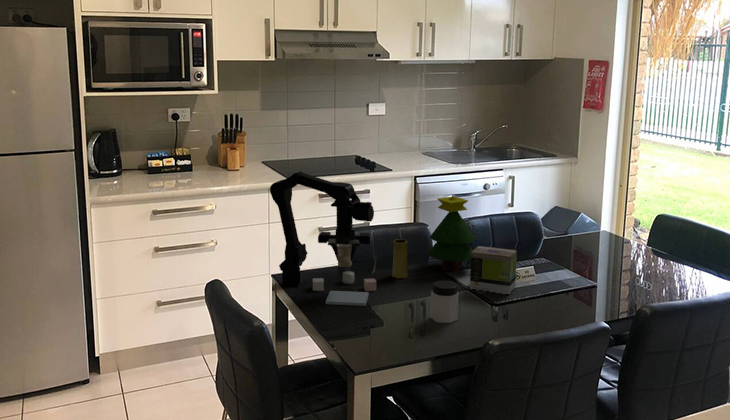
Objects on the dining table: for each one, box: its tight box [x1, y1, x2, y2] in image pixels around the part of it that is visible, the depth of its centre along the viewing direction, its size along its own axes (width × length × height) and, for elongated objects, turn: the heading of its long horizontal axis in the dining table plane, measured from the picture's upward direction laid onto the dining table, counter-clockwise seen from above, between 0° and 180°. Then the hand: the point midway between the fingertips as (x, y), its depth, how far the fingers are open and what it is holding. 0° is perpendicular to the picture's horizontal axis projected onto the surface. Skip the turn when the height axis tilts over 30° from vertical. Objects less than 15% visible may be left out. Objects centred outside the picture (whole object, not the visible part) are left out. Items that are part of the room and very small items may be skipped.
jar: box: [429, 280, 459, 324], centre depth 244 cm, size 9×8×12 cm
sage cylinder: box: [342, 270, 355, 285], centre depth 280 cm, size 4×4×4 cm
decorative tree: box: [427, 195, 477, 272], centre depth 293 cm, size 19×19×30 cm
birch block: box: [337, 244, 353, 268], centre depth 267 cm, size 4×4×7 cm
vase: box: [391, 238, 409, 279], centre depth 286 cm, size 6×6×14 cm
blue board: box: [325, 290, 370, 307], centre depth 262 cm, size 14×11×1 cm
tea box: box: [469, 245, 518, 295], centre depth 272 cm, size 15×10×15 cm
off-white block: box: [312, 277, 325, 292], centre depth 272 cm, size 4×4×4 cm
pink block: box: [363, 278, 377, 292], centre depth 272 cm, size 4×4×4 cm
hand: (344, 260), depth 267 cm, fingers closed on birch block, 4 cm apart
